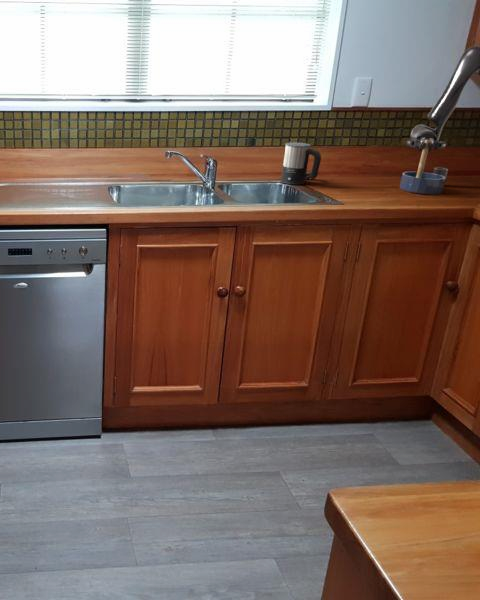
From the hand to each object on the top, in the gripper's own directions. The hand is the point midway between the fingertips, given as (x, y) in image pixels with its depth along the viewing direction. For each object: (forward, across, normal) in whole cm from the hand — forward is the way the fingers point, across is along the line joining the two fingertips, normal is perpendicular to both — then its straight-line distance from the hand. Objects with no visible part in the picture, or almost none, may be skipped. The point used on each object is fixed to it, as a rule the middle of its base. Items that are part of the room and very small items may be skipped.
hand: (426, 146), depth 221 cm
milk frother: (+6, -42, +17) cm, 45 cm away
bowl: (-1, +1, +16) cm, 17 cm away
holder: (-14, +7, +16) cm, 23 cm away
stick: (-3, 0, +14) cm, 14 cm away
